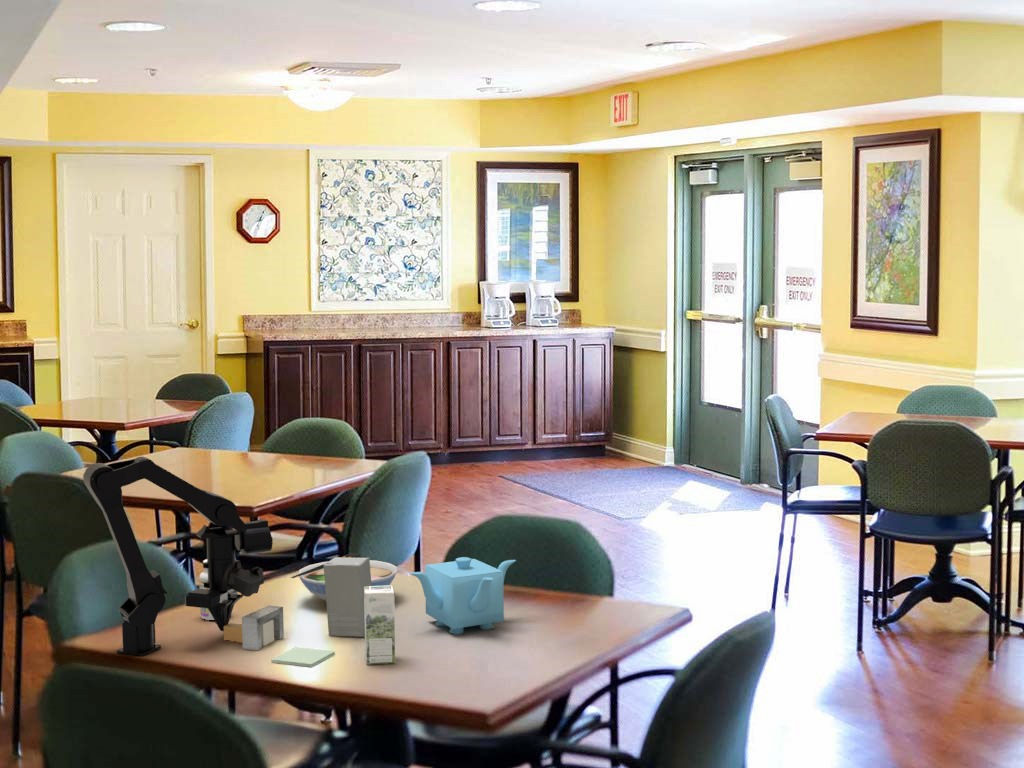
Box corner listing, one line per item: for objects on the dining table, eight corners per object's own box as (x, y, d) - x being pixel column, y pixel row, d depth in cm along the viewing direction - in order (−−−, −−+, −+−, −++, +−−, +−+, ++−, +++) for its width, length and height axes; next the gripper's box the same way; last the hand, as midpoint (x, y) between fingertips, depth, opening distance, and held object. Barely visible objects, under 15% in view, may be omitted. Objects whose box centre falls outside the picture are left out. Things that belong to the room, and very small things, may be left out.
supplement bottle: (235, 613, 307) (233, 557, 306) (226, 621, 300) (224, 563, 299) (206, 613, 307) (204, 556, 306) (196, 621, 301) (194, 563, 300)
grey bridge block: (257, 650, 278) (256, 618, 278) (242, 648, 280) (241, 617, 279) (283, 637, 288) (283, 606, 287) (269, 635, 289) (268, 605, 288)
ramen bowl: (356, 621, 300) (355, 584, 299) (274, 608, 311) (273, 572, 310) (420, 595, 321) (420, 561, 320) (341, 584, 333) (340, 551, 332)
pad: (311, 667, 267) (311, 664, 267) (271, 662, 270) (271, 659, 270) (334, 654, 275) (334, 651, 275) (295, 649, 278) (295, 646, 278)
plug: (263, 646, 281) (263, 624, 281) (221, 641, 285) (221, 620, 285) (274, 640, 285) (273, 619, 285) (232, 636, 289) (232, 615, 288)
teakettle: (439, 612, 306) (437, 547, 305) (520, 617, 301) (519, 551, 299) (408, 635, 288) (406, 566, 287) (493, 641, 283) (492, 571, 282)
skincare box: (375, 630, 292) (373, 556, 291) (362, 639, 286) (360, 564, 284) (337, 627, 295) (336, 554, 293) (324, 636, 288) (322, 562, 286)
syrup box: (394, 655, 274) (392, 583, 273) (395, 664, 268) (394, 590, 267) (365, 657, 273) (363, 585, 272) (366, 665, 267) (364, 592, 266)
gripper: (229, 570, 274) (231, 646, 276) (278, 550, 291) (280, 622, 293) (182, 565, 278) (184, 641, 280) (233, 546, 295) (235, 617, 297)
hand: (223, 630), depth 287 cm, fingers closed, pressing on plug
